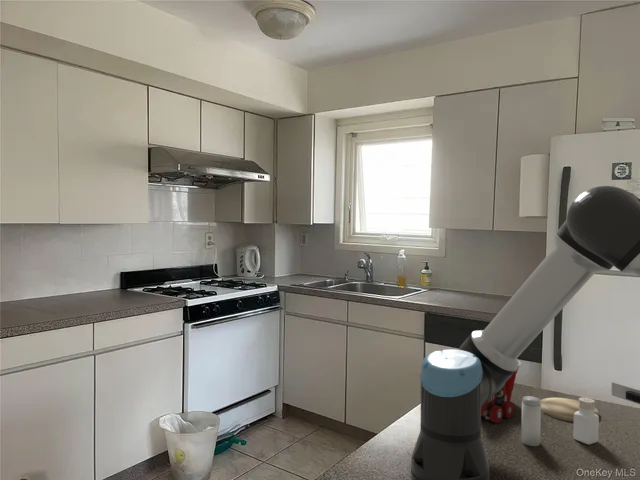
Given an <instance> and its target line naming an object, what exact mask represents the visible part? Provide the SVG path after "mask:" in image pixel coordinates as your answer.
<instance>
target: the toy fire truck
mask: <svg viewBox="0 0 640 480" xmlns="http://www.w3.org/2000/svg"><path fill="white" fill-rule="evenodd" d="M513 414H514V404H513V402H511V401H510V402H509V401H507V392H506V389H505V385H504V386H503V387H502V388H501V390H500V391H498V392H497V393H496V394H494V395H493V396H492V397H491V398H490V399H489V400H488V401H487V402H486V403H485V404H484V405H483V406H482V407H481V417H489V419H490V421H491V422H492V423H495V424H499V423H501V422H502V419H503V417H504V418H507V419H511V417H512V415H513Z"/></svg>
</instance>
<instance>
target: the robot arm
mask: <svg viewBox="0 0 640 480" xmlns="http://www.w3.org/2000/svg"><path fill="white" fill-rule="evenodd" d="M554 237H555V246H554V247H553V248H552V249H551V251H550V252H549V253H548V254H547V255H546V256H545V257H544V259H542V261H541V262H540V264H538V266H537V267H536V268H535V269H534V270H533V272H532V273H531V274H530V275H529V276H528V278H526V280H525V281H524V282H523V283H522V285H521V286H520V287H519V288H518V289H517V290H516V292H515V293H514V294H513V295H512V297H510V299H509V300H508V301H507V302H506V303H505V305H504V306H503V307H502V308H501V310H499V312H498V313H497V314H496V315H495V316H494V318H493V319H492V320H491V321H490V322H489V323H488V325H487V326H486V327H484V329H483V330H482V329H480V330H479V329H477V330H473V331H472V332H471V333H470V334H469V336H468V337H467V338H466V339H465V340H464V341H463V343H462V344H461V345H460V347H459V348H456V349H455V348H454V349H453V348H452V349H451V348H450V349H449V348H448V349H442V350H435V351H432V352H430V353H428V354H427V355H426V356H425V357H424V358H423V360H422V362H421V366H420V368H421V369H420V374H419V381H420V431H419V433H418V437H417V439H416V442H415V445H414V449H413V451H412V454H411V459H410V460H411V461H410V465H411V466H410V470H411V472H412V474H413V476H415V478H416V479H417V480H490V471H491V470H490V464H489V461H488V457H487V455H486V450H485V448H484V444H483V441H482V437H481V436H482V434H481V433H482V432H481V428H482V425H481V424H482V416H481V407H482V406H483V405H484V404H485V403H486V402H487V401H488V400H489V399H490V398H491V397H492V396H493V395H494V394H496V393H497V392H498V391H500V390H501V388H502V387H503V386H504V385H505V382H506V381H507V380H508V379H509V378H510V377H511V376H512V375H513V373H514V372H515V371H516V370H517V369H518V370H519V368H518V360H519V359H518V357H519V356H521V355H522V353H523V352H524V351H525V350H526V349H527V348H528V347H529V346H530V344H531V343H533V341H534V340H535V339H536V338H537V337H538V335H540V334H541V332H542V331H543V330H545V328H547V326H548V325H549V324H550V323H551V322H552V320H553V319H554V318H555V317H557V315H558V314H559V313H560V312H561V311H562V309H564V308H565V306H566V305H567V304H568V303H569V302H570V301H571V300H572V299H573V298H574V296H575V295H577V294H578V292H579V291H580V290H581V289H582V287H584V286H585V284H587V283H588V281H589V280H591V278H592V277H593V276H594V275H595V274H596V273H599V272H609V271H610V270H611V269H613V267H614V268H616V269H617V270H618V271H620V272H622V274H631V273H632V274H636V275H637V276H639V277H640V198H639V197H638V196H637V195H635V193H632V192H630V191H628V190H626V189H623V188H620V187H618V186H613V185H611V186H610V185H602V186H601V185H600V186H599V185H598V186H596V187H592V188H589V189H587V190H585V191H583V192H581V193H580V194H579V195H578V196H577V197H575V198H574V200H573V201H572V202H571V204H570V206H569V207H568V210H567V213H566V220H565V221H564V222H563V223H562V225H561V226H560V227H559V228H558V230H557V231H556V232H555V234H554ZM517 359H518V360H517ZM518 370H517V371H518ZM611 396H613V397H616V398H619V399H622V400H625V401H628V402H631V403H634V404H637V405H640V388H637V387H633V386H630V385H627V384H624V383H620V382H616V381H612V382H611Z"/></svg>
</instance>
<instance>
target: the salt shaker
mask: <svg viewBox="0 0 640 480" xmlns="http://www.w3.org/2000/svg"><path fill="white" fill-rule="evenodd" d="M540 401H541V399H540V398H539V397H536V396H531V395H527V396H523V397H522V401H521V424H520V426H521V427H520V439H521V440H520V442H521V443H522V444H523V445H526V446H529V447H538V446H540V445H541V427H542V426H541V423H542V422H541V420H542V417H541V416H542V411H541V404H540Z"/></svg>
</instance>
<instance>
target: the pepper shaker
mask: <svg viewBox="0 0 640 480" xmlns="http://www.w3.org/2000/svg"><path fill="white" fill-rule="evenodd" d="M578 401H579V411H577V412H575V413H574V422H573V425H572V426H573V431H572V432H573V434H572V436H573V439H574V440H576V441H578V442H581V443H583V444H586V445H590V446H591V445H592V444H594V443H597V442H598V441H599V426H600V425H599V423H600V416H599V417H598V416H597V415H596V414H594V409H595V408H596V407H595V406H596V404H595V403H596V400H594V399H592V398H590V397H579V398H578Z"/></svg>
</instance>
